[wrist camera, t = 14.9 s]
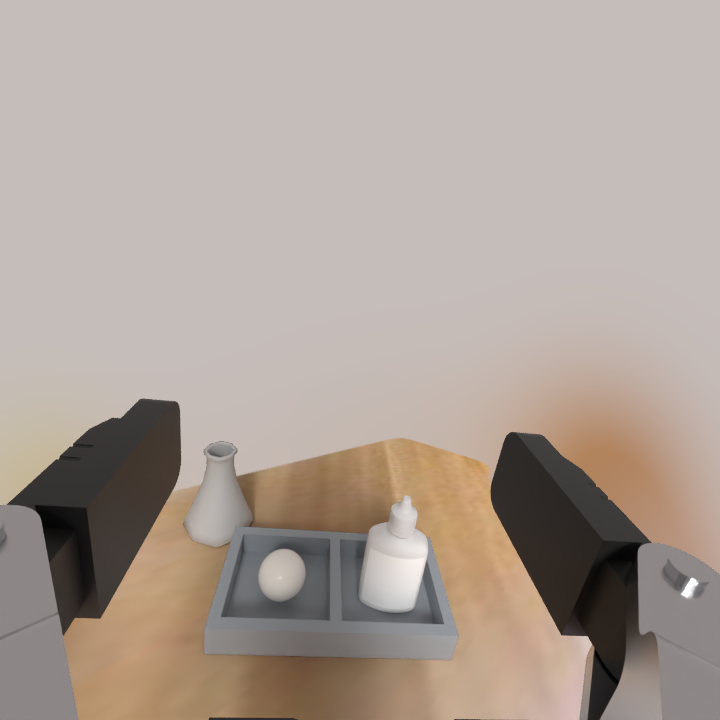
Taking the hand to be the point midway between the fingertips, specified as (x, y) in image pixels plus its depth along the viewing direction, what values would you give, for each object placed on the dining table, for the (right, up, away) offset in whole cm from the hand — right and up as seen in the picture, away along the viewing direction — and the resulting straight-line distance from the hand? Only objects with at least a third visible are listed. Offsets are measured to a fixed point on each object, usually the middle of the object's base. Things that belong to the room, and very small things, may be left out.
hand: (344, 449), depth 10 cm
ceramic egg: (-7, -20, +29) cm, 36 cm away
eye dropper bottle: (+3, -21, +30) cm, 37 cm away
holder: (-2, -21, +29) cm, 36 cm away
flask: (-16, -17, +37) cm, 43 cm away
